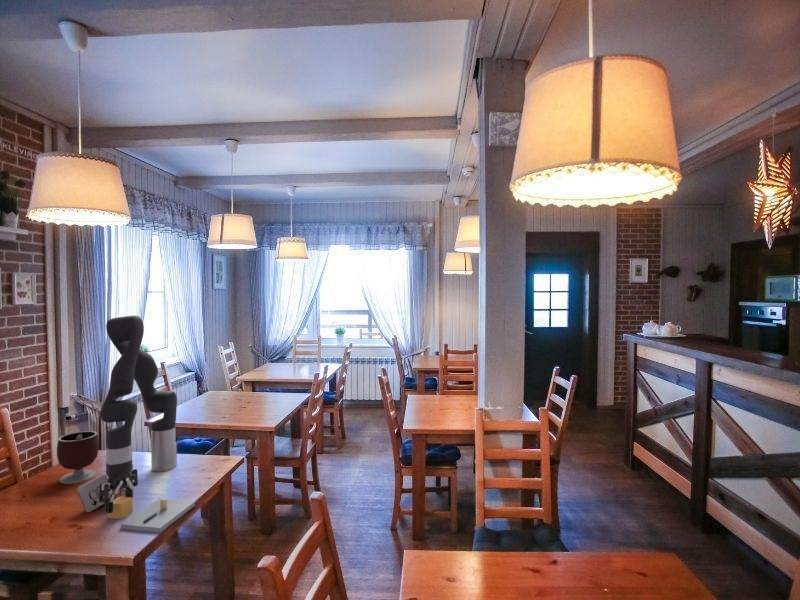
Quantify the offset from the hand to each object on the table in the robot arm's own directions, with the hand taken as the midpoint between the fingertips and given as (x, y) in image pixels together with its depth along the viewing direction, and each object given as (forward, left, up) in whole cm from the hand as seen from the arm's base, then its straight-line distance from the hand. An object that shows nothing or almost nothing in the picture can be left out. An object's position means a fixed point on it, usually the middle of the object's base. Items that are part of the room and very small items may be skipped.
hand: (119, 506), depth 152 cm
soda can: (-9, -10, -2) cm, 14 cm away
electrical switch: (-4, -13, -3) cm, 13 cm away
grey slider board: (-1, +14, -3) cm, 14 cm away
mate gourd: (-24, -40, -3) cm, 47 cm away
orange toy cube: (0, 0, -3) cm, 3 cm away
